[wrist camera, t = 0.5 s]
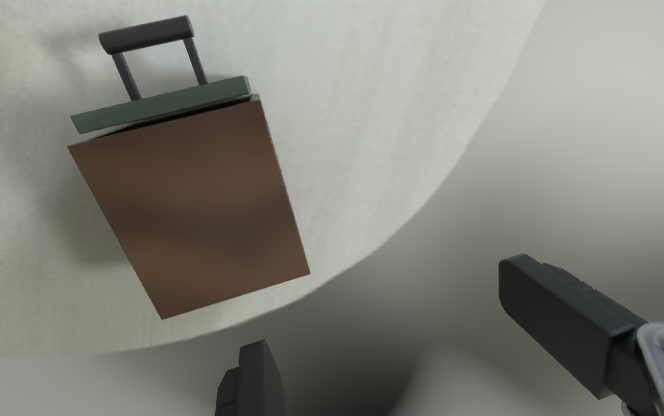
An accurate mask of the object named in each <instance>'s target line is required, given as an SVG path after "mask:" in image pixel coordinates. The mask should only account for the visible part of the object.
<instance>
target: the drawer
mask: <svg viewBox="0 0 664 416" xmlns="http://www.w3.org/2000/svg"><path fill="white" fill-rule="evenodd" d="M192 37H194V31H193V28H192V25H191V22H190V20H189V18H188V16H187V15H185V16H180V17H175V18H170V19H165V20H160V21H156V22H151V23H146V24H141V25H136V26H132V27H127V28H122V29H117V30H112V31H108V32H103V33H99V40H100V43H101V45H102V47H103V48H104V50H105V51H106V52H107V53H108V54H109V55H112V58H113V60H114V62H115V64H116V67H117V69H118V71H119V73H120V76H121V78H122V80H123V83H124V85H125V87H126V89H127V92H128V94H129V96H130V98H131V101H132V102H128V103H123V104H119V105H115V106H110V107H106V108H102V109H98V110H93V111H89V112H85V113H80V114H76V115H72V116H71V119H72V121H73V123H74V124H75V126H76V128H77V130H78V132H79V134H82V133H87V132H91V131H95V130H99V129H103V128H107V127H112V126H116V125H120V124H124V123H128V122H132V121H137V120H141V119H145V118H149V117H153V116H157V115H162V114H166V113H170V112H174V111H178V110H182V109H186V108H191V107H195V106H199V105H203V104H207V103H211V102H216V101H220V100H224V99H228V98H232V97H236V96H241V95H245V94H249V92H250V91H251V88H250V85H249V82H248V78H247V77H246V76H239V77H235V78H230V79H226V80H222V81H218V82H213V83H209V84H208V82H207V79H206V76H205V73H204V70H203V67H202V65H201V62H200V59H199V56H198V53H197V50H196V47H195V44H194V41H193V39H192ZM178 40H183V41H184V44H185V46H186V49H187V52H188V55H189V58H190V61H191V63H192V66H193V69H194V72H195V75H196V77H197V80H198V83H199V86H196V87H192V88H188V89H183V90H179V91H175V92H170V93H166V94H162V95H158V96H153V97H149V98H145V99H142V98H141V96H140V93H139V91H138V89H137V86H136V84H135V82H134V79H133V77H132V75H131V72H130V70H129V68H128V65H127V63H126V61H125V58H124V56H123V54H122V52H127V51H132V50H136V49H141V48H146V47H150V46H155V45H159V44H164V43H169V42H173V41H178Z"/></svg>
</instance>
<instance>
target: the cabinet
mask: <svg viewBox="0 0 664 416" xmlns="http://www.w3.org/2000/svg"><path fill="white" fill-rule="evenodd" d="M67 147H68V149H69V151H70V153H71V155H72V157H73V158H74V160H75V162H76V164H77V166H78V167H79V169H80V171H81V173H82V175H83V177H84V178H85V180H86V182H87V184H88V186H89V188H90V189H91V191H92V193H93V195H94V197H95V199H96V200H97V202H98V204H99V206H100V208H101V210H102V211H103V213H104V215H105V217H106V219H107V221H108V222H109V224H110V226H111V228H112V230H113V232H114V233H115V235H116V237H117V239H118V241H119V243H120V244H121V246H122V248H123V250H124V252H125V254H126V255H127V257H128V259H129V261H130V263H131V265H132V266H133V268H134V270H135V272H136V274H137V276H138V277H139V279H140V281H141V283H142V285H143V287H144V288H145V290H146V292H147V294H148V296H149V298H150V299H151V301H152V303H153V305H154V307H155V309H156V310H157V312H158V314H159V316H160V318H161V320H163V319H167V318H170V317H173V316H176V315H180V314H183V313H186V312H189V311H193V310H196V309H199V308H202V307H205V306H209V305H212V304H215V303H218V302H222V301H225V300H228V299H231V298H234V297H238V296H241V295H244V294H247V293H251V292H254V291H257V290H260V289H263V288H267V287H270V286H273V285H276V284H280V283H283V282H286V281H289V280H292V279H296V278H299V277H302V276H305V275H309V274H310V270H309V266H308V263H307V259H306V256H305V252H304V248H303V245H302V241H301V238H300V234H299V231H298V227H297V224H296V220H295V217H294V213H293V210H292V206H291V203H290V200H289V196H288V193H287V189H286V186H285V182H284V179H283V175H282V172H281V169H280V165H279V162H278V158H277V155H276V151H275V148H274V144H273V141H272V138H271V134H270V131H269V127H268V124H267V120H266V117H265V113H264V110H263V106H262V103H261V100H260V96H259V94H256V95H252V96H248V97H244V98H240V99H235V100H231V101H227V102H223V103H219V104H215V105H211V106H206V107H202V108H198V109H194V110H190V111H186V112H182V113H177V114H173V115H169V116H165V117H161V118H157V119H153V120H148V121H144V122H140V123H136V124H132V125H128V126H124V127H122V128H119V129H116V130H113V131H110V132H107V133H104V134H101V135H99V136H96V137H93V138H90V139H87V140H84V141H81V142H78V143H75V144H72V145H70V146H67Z"/></svg>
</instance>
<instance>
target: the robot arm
mask: <svg viewBox="0 0 664 416" xmlns="http://www.w3.org/2000/svg"><path fill="white" fill-rule="evenodd" d="M499 299H500V302H501V305H502V307H503V308H504V310H505V311H506V313H507V314H508V315H509V316H510V317H511V318H512V319H513V320H514V321H515V322H516V323H518V324H519V325H520V326H521V327H522V328H523V329H524V330H525V331H526V332H527V333H528V334H529V335H530V336H531V337H533V338H534V339H535V340H536V341H537V342H538V343H539V344H540V345H541V346H542V347H543V348H544V349H545V350H546V351H547V352H548V353H550V354H551V355H552V356H553V357H554V358H555V359H556V360H557V361H558V362H559V363H560V364H561V365H562V366H563V367H564V368H565V369H567V371H569V372H570V373H571V374H572V375H573V376H574V377H575V378H576V379H577V380H578V381H579V382H580V383H581V384H582V385H583V386H584V387H586V388H587V389H588V390H589V391H590V392H591V393H592V394H593V395H594V396H595V397H596V398H597V399H598V400H600V399H603V398H605V397H608V396H610V395H613V394H616V395H617V396H618V397H619V398H620V399H621V400H622V411H623V414H624V416H664V323H663V322H662V323H661V322H653V323H649V322H647V321H645V320H644V319H642V318H640V317H639V316H637V315H636V314H634V313H632V312H631V311H629V310H628V309H626V308H624V307H623V306H621V305H619V304H618V303H616V302H615V301H613V300H612V299H610V298H608V297H607V296H605V295H603V294H602V293H600V292H599V291H597V290H593V288H592V287H591V286H589V285H587V284H586V283H584V282H583V281H580V280H579V279H578V278H576V277H575V276H573V275H572V274H570V273H568V272H567V271H565V270H564V269H561V268H558V267H555V266H552V265H549V264H546V263H543V264H540V263H539V262H537V261H535V260H534V259H533V258H531V257H530V256H528V255H526V254H519V255H516V256H513V257H510V258H507V259H504V260H501V261H500V262H499ZM215 416H286V409H285V398H284V389H283V385H282V380H281V376H280V373H279V371H278V368H277V366H276V363H275V361H274V358H273V356H272V354H271V351H270V349H269V346H268V344H267V342H266V340H265V339H263V340H260V341H257V342H254V343H251V344H248V345H245V346H242V347H241V348H240V354H239V367H236V368H234V369H231V370H228V371H226V374H225V375H224V377H223V380H222V382H221V383H220V385H219V387H218V393H217V402H216V411H215Z"/></svg>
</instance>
